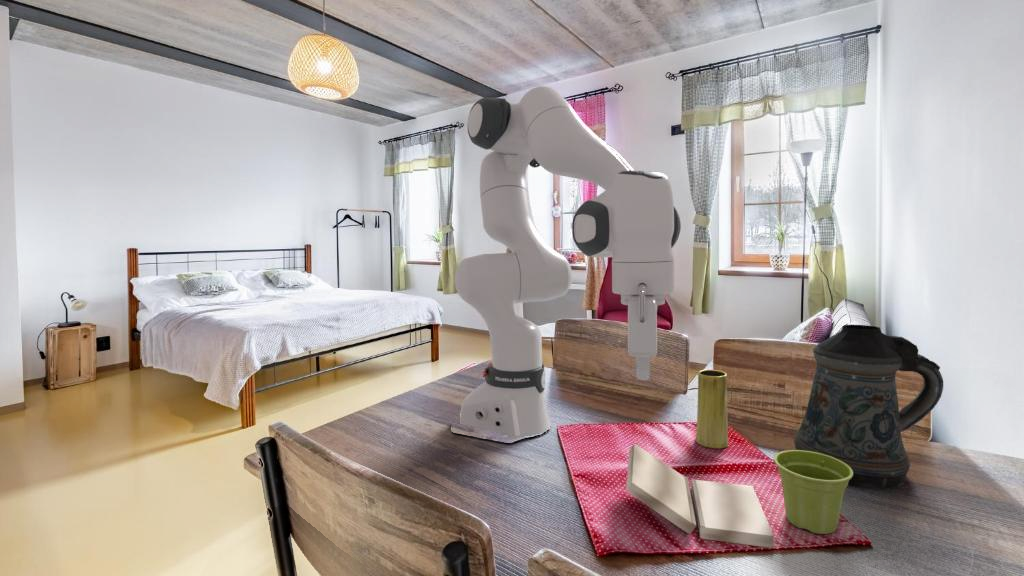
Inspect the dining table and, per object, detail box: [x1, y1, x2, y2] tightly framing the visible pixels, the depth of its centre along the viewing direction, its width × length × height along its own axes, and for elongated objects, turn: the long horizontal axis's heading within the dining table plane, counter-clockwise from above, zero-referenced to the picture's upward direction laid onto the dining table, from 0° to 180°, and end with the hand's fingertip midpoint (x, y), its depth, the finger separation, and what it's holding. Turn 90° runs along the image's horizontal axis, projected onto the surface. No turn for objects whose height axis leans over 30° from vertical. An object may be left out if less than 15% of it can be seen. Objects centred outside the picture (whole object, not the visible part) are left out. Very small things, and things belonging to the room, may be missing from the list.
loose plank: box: [625, 443, 697, 535], centre depth 71 cm, size 10×13×2 cm
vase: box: [695, 369, 730, 450], centre depth 93 cm, size 6×6×14 cm
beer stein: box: [793, 324, 944, 490], centre depth 81 cm, size 16×19×25 cm
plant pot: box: [773, 449, 853, 535], centre depth 66 cm, size 9×9×9 cm
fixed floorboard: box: [691, 478, 775, 549], centre depth 69 cm, size 9×13×2 cm
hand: (643, 372), depth 70 cm, fingers open, 5 cm apart
